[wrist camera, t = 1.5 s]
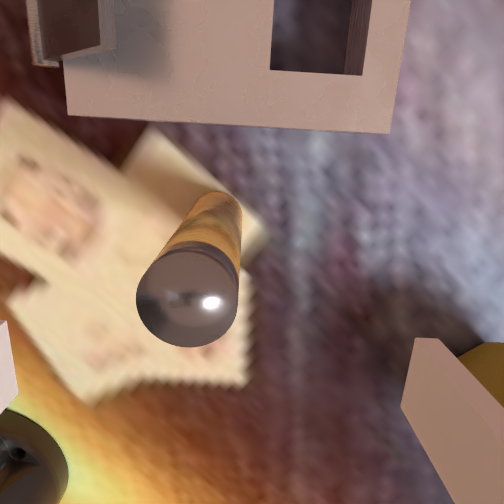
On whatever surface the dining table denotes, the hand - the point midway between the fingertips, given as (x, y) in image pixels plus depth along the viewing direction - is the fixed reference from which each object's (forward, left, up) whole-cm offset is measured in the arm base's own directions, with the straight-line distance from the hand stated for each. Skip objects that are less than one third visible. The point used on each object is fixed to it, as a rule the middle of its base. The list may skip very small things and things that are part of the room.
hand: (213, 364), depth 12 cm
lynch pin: (-1, +1, -19) cm, 19 cm away
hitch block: (0, +14, -19) cm, 23 cm away
